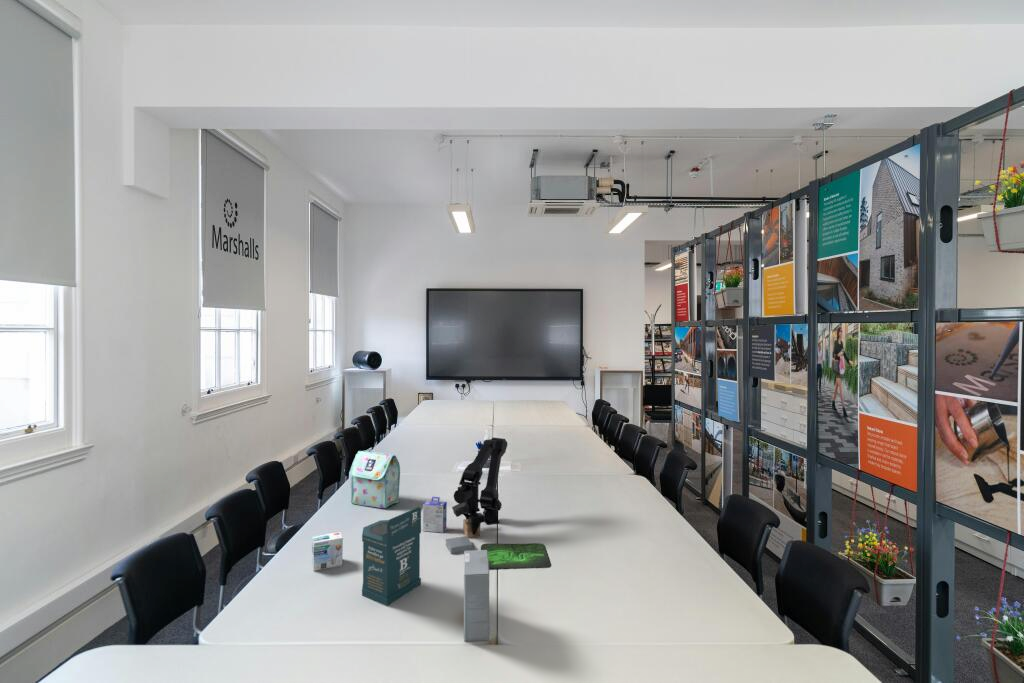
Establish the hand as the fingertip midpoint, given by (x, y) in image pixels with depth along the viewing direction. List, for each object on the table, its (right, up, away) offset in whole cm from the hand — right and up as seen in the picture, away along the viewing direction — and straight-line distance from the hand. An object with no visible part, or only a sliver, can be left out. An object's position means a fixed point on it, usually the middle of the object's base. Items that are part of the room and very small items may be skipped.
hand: (471, 531), depth 216 cm
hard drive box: (+7, -3, -67) cm, 68 cm away
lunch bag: (-54, 0, +39) cm, 66 cm away
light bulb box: (-53, -2, -29) cm, 60 cm away
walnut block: (0, -1, 0) cm, 1 cm away
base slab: (-4, -2, -14) cm, 14 cm away
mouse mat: (+19, -2, -20) cm, 28 cm away
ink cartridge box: (-17, -1, +5) cm, 18 cm away
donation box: (-25, -2, -46) cm, 53 cm away
